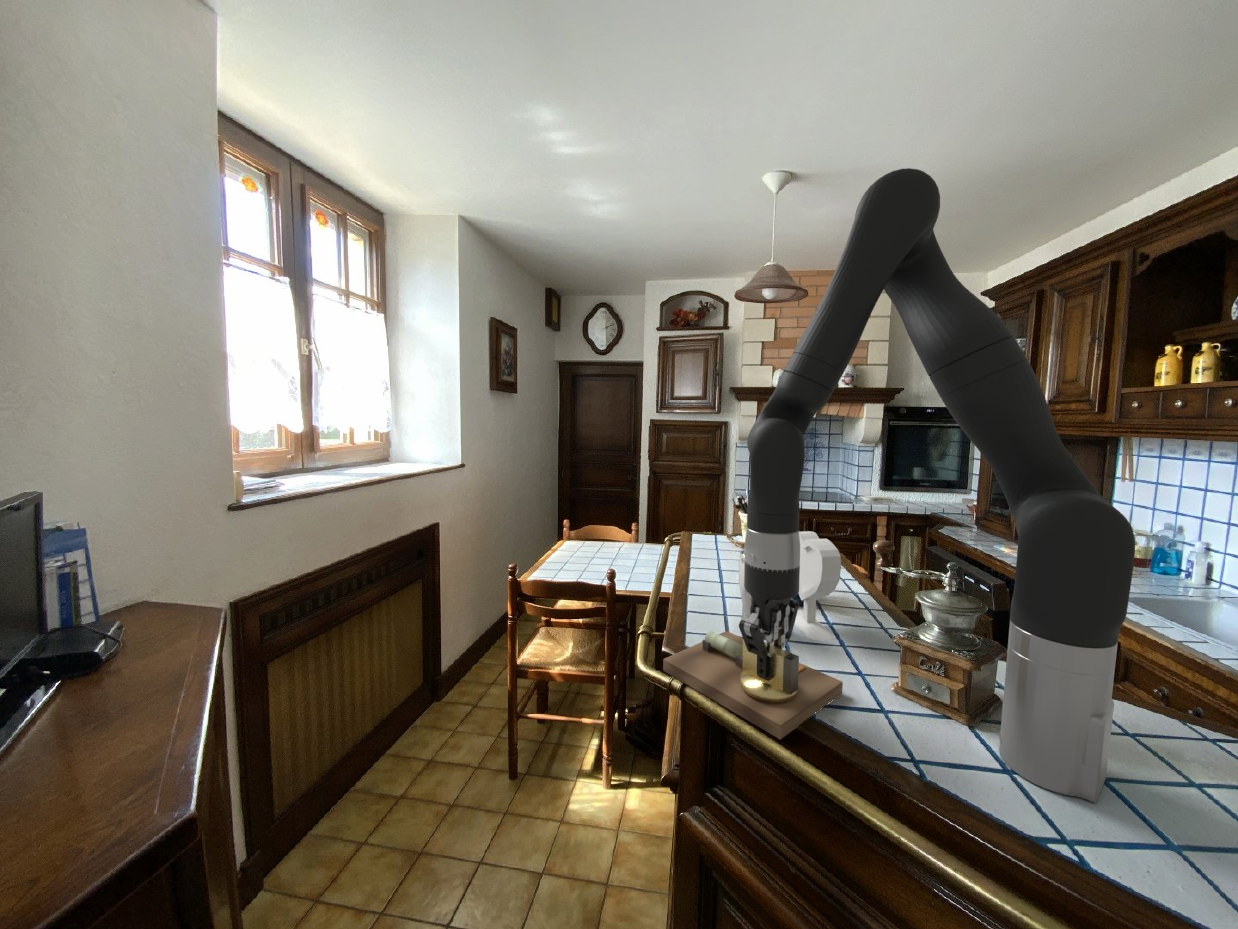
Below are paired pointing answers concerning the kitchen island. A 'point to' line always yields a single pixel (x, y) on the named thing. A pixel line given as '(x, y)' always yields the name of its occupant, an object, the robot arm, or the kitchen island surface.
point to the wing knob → (780, 685)
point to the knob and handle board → (719, 678)
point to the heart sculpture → (816, 581)
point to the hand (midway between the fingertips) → (769, 674)
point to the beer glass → (744, 594)
